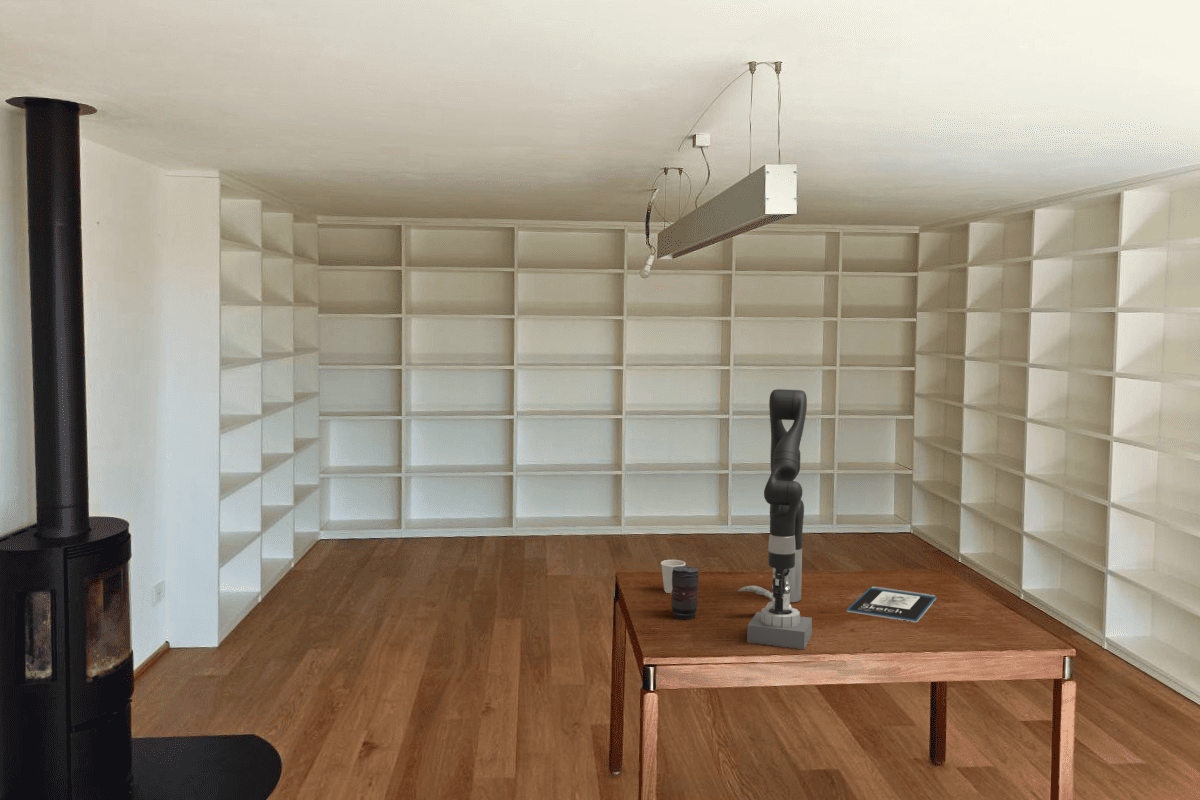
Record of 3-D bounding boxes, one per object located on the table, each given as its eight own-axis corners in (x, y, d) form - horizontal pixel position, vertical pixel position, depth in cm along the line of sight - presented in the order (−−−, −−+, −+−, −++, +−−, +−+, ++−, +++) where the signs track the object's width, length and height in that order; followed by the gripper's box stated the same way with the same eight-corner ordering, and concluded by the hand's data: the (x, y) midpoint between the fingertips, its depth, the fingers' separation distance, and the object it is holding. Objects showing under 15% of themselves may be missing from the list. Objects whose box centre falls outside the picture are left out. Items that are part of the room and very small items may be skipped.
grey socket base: (756, 628, 288) (757, 601, 288) (811, 634, 283) (812, 607, 282) (747, 642, 275) (747, 614, 274) (804, 649, 270) (804, 621, 269)
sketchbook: (846, 613, 306) (846, 607, 306) (871, 591, 332) (871, 585, 331) (916, 624, 295) (916, 617, 295) (936, 600, 321) (936, 593, 321)
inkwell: (798, 621, 295) (799, 588, 295) (740, 623, 293) (741, 590, 292) (788, 612, 305) (788, 580, 304) (732, 614, 302) (733, 582, 301)
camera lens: (696, 621, 294) (697, 572, 293) (669, 619, 296) (670, 571, 295) (699, 613, 302) (699, 566, 301) (673, 611, 304) (673, 564, 302)
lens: (773, 613, 282) (773, 582, 281) (790, 615, 280) (791, 584, 279) (769, 618, 277) (770, 587, 276) (787, 620, 275) (788, 588, 274)
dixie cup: (662, 587, 331) (662, 559, 330) (686, 589, 329) (687, 560, 329) (658, 594, 323) (659, 564, 322) (683, 596, 321) (684, 566, 320)
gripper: (790, 556, 269) (789, 617, 270) (799, 545, 282) (797, 603, 284) (763, 554, 271) (762, 614, 273) (773, 543, 285) (772, 600, 286)
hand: (780, 608), depth 278 cm, fingers closed on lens, 5 cm apart
